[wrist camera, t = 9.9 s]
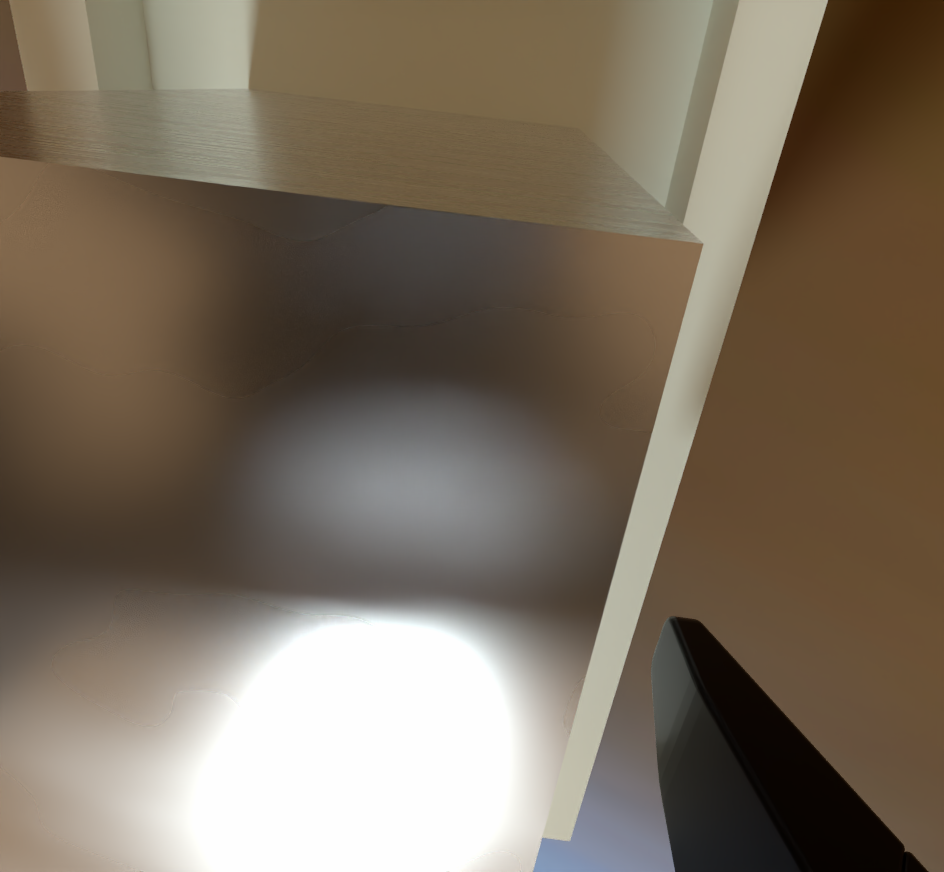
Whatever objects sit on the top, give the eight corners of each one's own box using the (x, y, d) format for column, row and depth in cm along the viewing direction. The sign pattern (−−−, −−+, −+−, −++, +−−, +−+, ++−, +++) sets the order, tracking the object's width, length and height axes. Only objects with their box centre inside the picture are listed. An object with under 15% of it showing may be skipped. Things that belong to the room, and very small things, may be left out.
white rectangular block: (578, 128, 10) (704, 245, 3) (486, 682, 15) (448, 1181, 8) (247, 88, 10) (-482, 96, 3) (279, 653, 16) (70, 1123, 8)
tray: (565, 758, 18) (569, 841, 16) (206, 708, 18) (167, 783, 16) (812, -146, 9) (892, -211, 7) (73, -226, 9) (-55, -312, 7)
